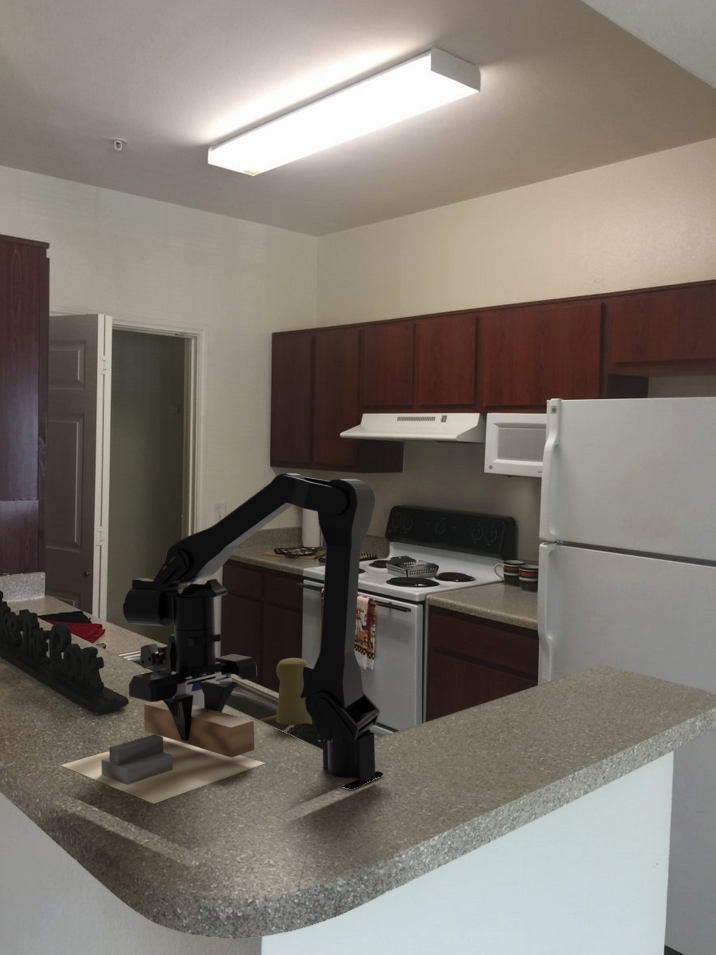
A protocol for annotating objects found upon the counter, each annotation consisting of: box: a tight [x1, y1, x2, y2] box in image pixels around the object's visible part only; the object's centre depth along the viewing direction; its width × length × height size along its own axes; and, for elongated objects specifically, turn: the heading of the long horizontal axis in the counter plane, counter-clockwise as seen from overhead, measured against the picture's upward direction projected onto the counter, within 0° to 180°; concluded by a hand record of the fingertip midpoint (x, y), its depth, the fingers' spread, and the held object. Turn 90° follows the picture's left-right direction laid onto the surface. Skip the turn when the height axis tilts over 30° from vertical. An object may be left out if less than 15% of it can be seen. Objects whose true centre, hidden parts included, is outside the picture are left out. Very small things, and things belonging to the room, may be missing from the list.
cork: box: [275, 657, 313, 726], centre depth 133 cm, size 6×6×11 cm
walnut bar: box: [143, 701, 255, 758], centre depth 117 cm, size 20×4×4 cm, turn 49°
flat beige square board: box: [60, 734, 266, 804], centre depth 113 cm, size 22×18×5 cm
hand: (197, 736), depth 117 cm, fingers closed on walnut bar, 4 cm apart
